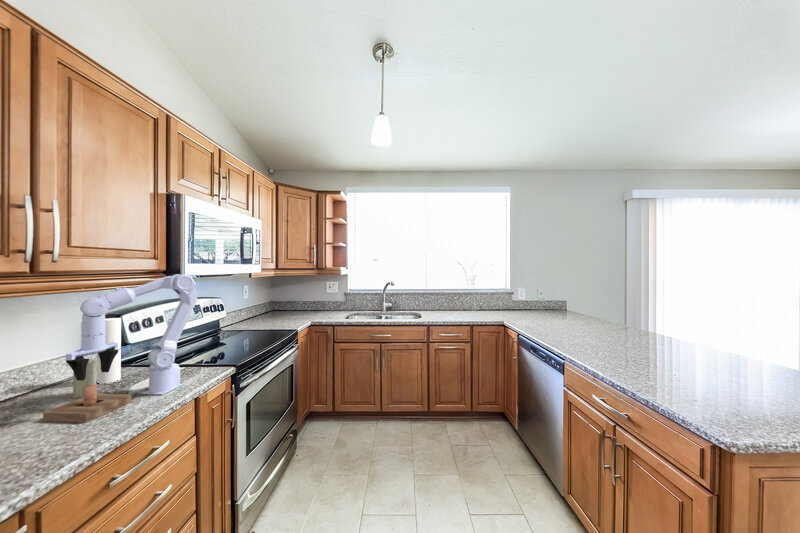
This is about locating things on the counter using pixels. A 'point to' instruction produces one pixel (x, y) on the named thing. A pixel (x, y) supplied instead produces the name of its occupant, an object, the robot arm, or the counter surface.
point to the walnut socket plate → (86, 408)
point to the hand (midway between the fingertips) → (93, 375)
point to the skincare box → (88, 380)
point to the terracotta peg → (89, 395)
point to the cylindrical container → (115, 370)
